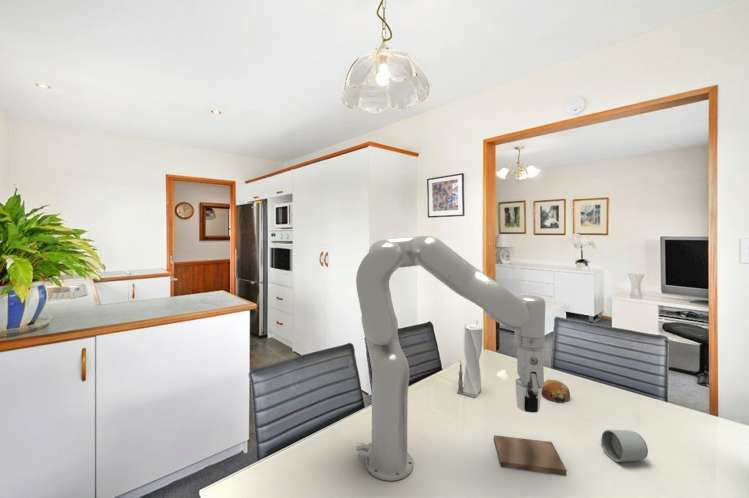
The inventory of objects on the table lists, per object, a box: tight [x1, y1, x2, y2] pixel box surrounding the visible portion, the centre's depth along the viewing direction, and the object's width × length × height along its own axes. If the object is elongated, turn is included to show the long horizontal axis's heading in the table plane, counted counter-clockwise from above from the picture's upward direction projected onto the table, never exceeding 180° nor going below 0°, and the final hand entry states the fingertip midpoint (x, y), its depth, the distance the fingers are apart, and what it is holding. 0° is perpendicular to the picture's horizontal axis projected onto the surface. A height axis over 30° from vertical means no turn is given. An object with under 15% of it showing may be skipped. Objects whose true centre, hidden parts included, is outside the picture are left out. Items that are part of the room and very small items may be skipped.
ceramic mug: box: [600, 429, 649, 463], centre depth 94 cm, size 11×8×8 cm
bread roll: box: [541, 379, 571, 403], centre depth 129 cm, size 10×10×8 cm
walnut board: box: [493, 434, 568, 477], centre depth 93 cm, size 16×12×2 cm
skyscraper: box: [456, 319, 484, 399], centre depth 131 cm, size 8×8×28 cm
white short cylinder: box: [514, 377, 542, 414], centre depth 93 cm, size 7×7×7 cm
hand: (528, 404), depth 93 cm, fingers closed on white short cylinder, 5 cm apart
